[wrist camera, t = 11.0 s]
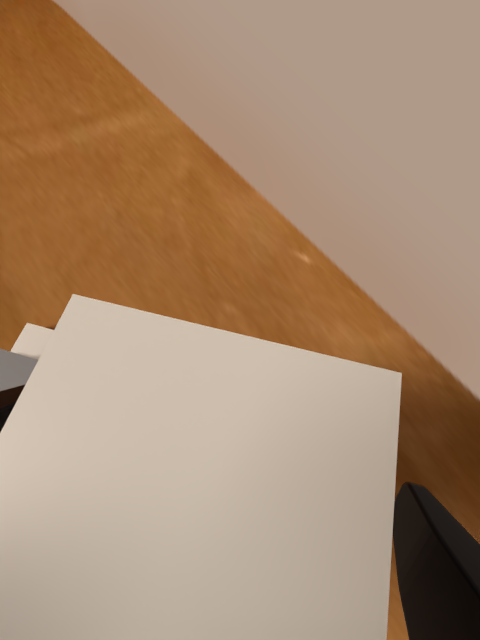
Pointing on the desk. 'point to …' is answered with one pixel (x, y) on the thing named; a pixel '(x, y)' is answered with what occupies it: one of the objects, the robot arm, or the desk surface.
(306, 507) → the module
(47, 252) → the desk surface
